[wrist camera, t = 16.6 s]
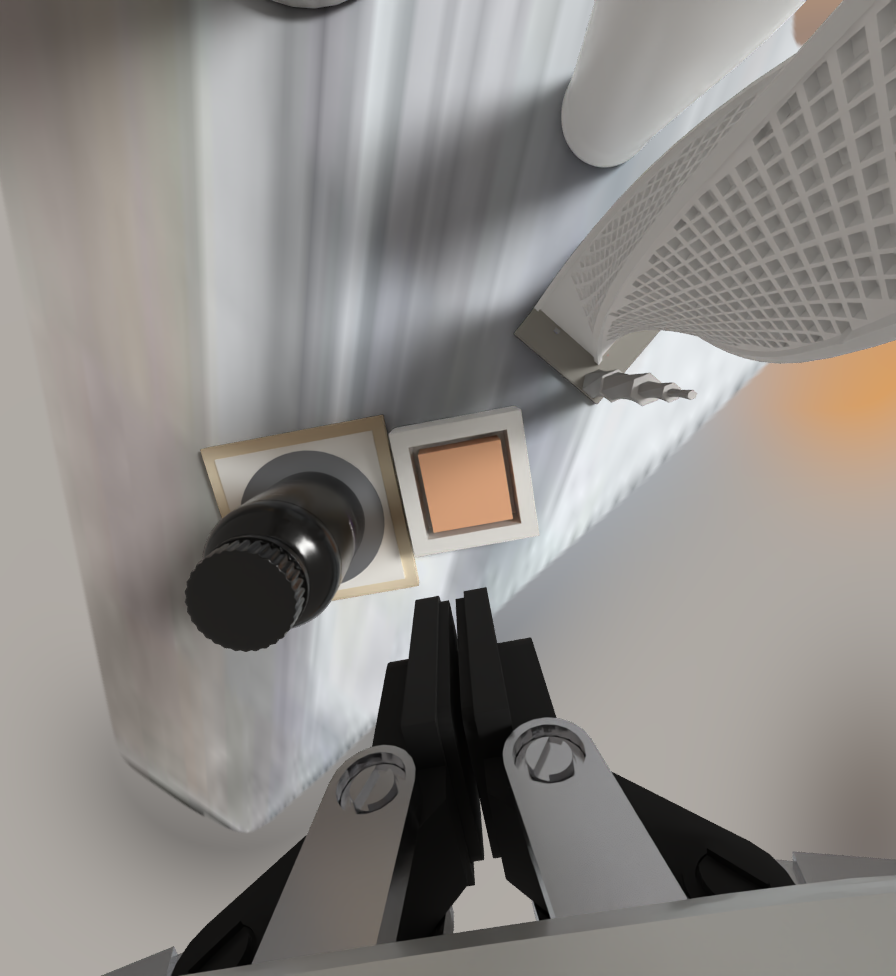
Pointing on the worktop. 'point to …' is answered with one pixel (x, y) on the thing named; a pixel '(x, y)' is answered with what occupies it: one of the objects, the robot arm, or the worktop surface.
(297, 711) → the worktop surface
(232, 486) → the cream square coaster
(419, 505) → the button housing
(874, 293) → the skyscraper
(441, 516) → the button
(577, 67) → the drinking glass
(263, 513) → the supplement bottle
